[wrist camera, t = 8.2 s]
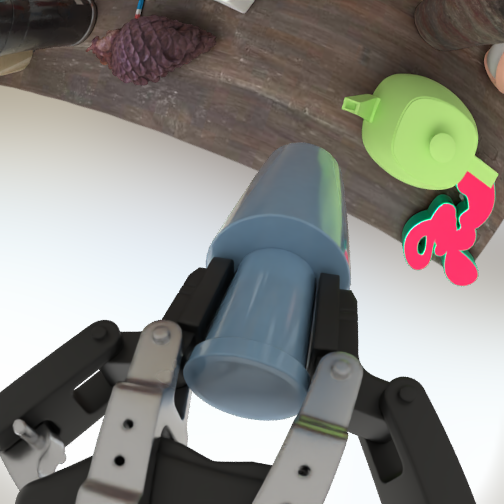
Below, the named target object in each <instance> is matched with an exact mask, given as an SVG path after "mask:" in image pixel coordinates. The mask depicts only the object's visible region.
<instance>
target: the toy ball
mask: <svg viewBox="0 0 504 504" xmlns="http://www.w3.org/2000/svg"><path fill="white" fill-rule="evenodd" d="M484 64H485V69H486V72H487V74H488V76H489V78H490V80H491V82H492V83H493V84H494V85H495V87H496V88H497V89H498V90H499V91H500V92H502V93H503V94H504V43H500V44H494V45H492V47H491V48H490V49H489V50H488V51H487V53H486V54H485V58H484Z"/></svg>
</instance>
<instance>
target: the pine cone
mask: <svg viewBox="0 0 504 504" xmlns="http://www.w3.org/2000/svg"><path fill="white" fill-rule="evenodd" d="M215 38H216V36H213V35H212V34H211V33H210V32H206V31H205V30H200V29H199V27H197V26H193V25H192V24H189V25H187V24H185V23H184V24H182V23H181V22H178V20H171V19H168V18H166V17H164V16H160V17H159V16H156V15H151V16H148V17H144V16H141V17H139V18H137V19H132V20H131V21H130V22H129V23H127V24H124V26H123V27H122V28H121V29H116V30H113V31H112V30H108V32H107V33H106V36H105V37H103V38H102V39H99V36H97V37H95V38H94V39H93V40H92V45H91V46H90V47H89V48H88V49H87V50H86V52H88V51H90V50H93V53H94V54H96V57H97V58H99V59H100V62H101V63H102V64H103V65H107V64H108V67H109V69H112V74H113V75H115V76H117V77H118V78H120V80H122V81H123V82H124V83H129V82H133V83H134V84H135V85H147V84H148V81H152V82H154V83H156V82H158V81H159V80H160V76H161V77H165V76H166V75H167V74H168V73H167V72H169V71H170V72H172V71H173V70H174V69H175V68H180V67H181V66H182V65H183V64H188V63H190V62H191V60H192V59H194V58H197V57H198V56H199V55H200V54H202V53H205V52H208V51H209V50H210V48H212V47H213V46H214V45H215V44H216V41H215Z"/></svg>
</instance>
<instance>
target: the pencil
mask: <svg viewBox="0 0 504 504" xmlns="http://www.w3.org/2000/svg"><path fill="white" fill-rule="evenodd" d="M143 2H144V0H139V3H138V7H137V11H136V15H135V18H136V19H137V18H139V17H140V14H141V10H142V6H143Z"/></svg>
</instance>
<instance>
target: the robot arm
mask: <svg viewBox="0 0 504 504" xmlns="http://www.w3.org/2000/svg"><path fill="white" fill-rule="evenodd" d="M96 16H97V10H96V6H95V3H94V2H93V1H92V0H0V56H4V55H9V54H14V53H19V52H24V51H30V50H33V53H34V51H35V50H36V49H43V48H51V47H60V46H75V45H78V44H80V43H82V42H83V41H84V40H85V39H86V38H87V37H88V36H89V34H90V33H91V31H92V29H93V27H94V25H95V21H96ZM233 275H234V261H233V260H232V259H226V258H220V257H213V258H212V260H211V262H210V263H209V265H208V267H207V269H206V268H198V269H197V270H195V271H194V272H193V273H191V274H190V275H189V276H188V278H187V279H186V281H185V283H184V286H182V288H181V289H180V291H179V293H178V294H177V295H176V297H175V299H174V300H173V302H172V304H171V305H170V307H169V308H168V310H167V312H166V313H165V315H164V317H163V318H162V320H158V321H154V322H152V323H150V324H149V325H147V326H146V327H145V328H144V329H143V331H141V332H120V331H119V328H118V326H117V325H116V324H115V323H114V322H112V321H109V320H101V321H97V322H95V323H93V324H91V325H90V326H88V327H87V328H85V329H84V330H83V331H81V332H80V333H79V334H77V335H76V336H74V337H73V338H72V339H70V340H69V341H68V342H66V343H65V344H63V345H62V346H61V347H59V348H58V349H57V350H55V351H54V352H53V353H51V354H50V355H49V356H48V357H46V358H45V359H44V360H42V361H41V362H39V363H38V364H37V365H35V366H34V367H33V368H31V369H30V370H29V371H27V372H26V373H25V374H23V375H22V376H21V377H19V378H18V379H17V380H16V381H14V382H13V383H12V384H11V385H9V386H8V387H7V388H5V389H4V390H3V391H1V392H0V456H1V458H2V460H3V462H4V464H5V466H6V468H7V470H8V472H9V474H10V475H11V477H12V479H13V481H14V482H15V484H16V486H17V487H18V489H19V491H20V492H19V493H18V495H17V498H16V502H15V504H323V503H324V501H325V498H326V496H327V494H328V491H329V489H330V486H331V483H332V481H333V479H334V475H335V473H336V471H337V468H338V465H339V463H340V460H341V457H342V454H343V451H344V449H345V446H346V442H347V439H348V433H347V431H348V432H350V433H352V434H355V435H357V436H358V437H359V440H360V443H361V446H362V449H363V451H364V454H365V457H366V460H367V463H368V465H369V468H370V471H371V474H372V477H373V480H374V483H375V485H376V489H377V491H378V494H379V497H380V500H381V503H382V504H476V502H475V500H474V497H473V495H472V492H471V489H470V487H469V485H468V482H467V479H466V477H465V475H464V472H463V470H462V467H461V465H460V463H459V461H458V458H457V456H456V454H455V452H454V449H453V447H452V445H451V443H450V441H449V438H448V436H447V434H446V432H445V430H444V428H443V426H442V424H441V422H440V420H439V417H438V415H437V413H436V411H435V409H434V407H433V405H432V403H431V402H430V400H429V398H428V396H427V394H426V392H425V390H424V388H423V387H422V385H421V384H420V383H419V382H418V381H416V380H415V379H412V378H409V377H398V378H395V379H393V380H392V381H391V382H388V381H385V380H382V379H380V378H378V377H375V376H373V375H371V374H370V373H368V372H367V371H366V370H365V369H364V368H363V366H362V365H361V363H360V361H359V357H358V322H357V321H358V314H357V300H356V298H355V296H354V295H353V293H352V291H351V290H344V289H340V276H339V275H335V274H328V273H320V277H319V282H318V288H317V293H316V299H315V308H314V316H313V324H312V332H311V340H310V347H309V354H308V361H307V368H306V370H307V372H308V373H309V376H310V379H311V384H310V387H309V389H308V392H307V394H306V396H305V399H304V401H303V403H302V406H301V408H300V410H299V413H298V415H297V417H296V418H295V420H294V422H293V424H292V426H291V428H290V430H289V432H288V435H287V437H286V439H285V441H284V443H283V445H282V447H281V449H280V451H279V453H278V455H277V457H276V459H275V461H274V463H273V465H267V464H262V463H256V462H217V461H212V460H210V459H208V458H206V457H204V456H203V455H201V454H199V453H197V452H196V451H194V450H192V449H190V448H188V447H187V440H188V436H187V419H188V413H189V406H190V400H191V394H192V390H191V389H190V388H189V387H188V385H187V384H186V382H185V379H184V376H183V368H184V365H185V363H186V361H187V359H188V357H189V355H190V353H191V351H192V349H193V348H194V347H195V346H196V345H198V344H199V343H201V342H203V341H204V339H205V337H206V335H207V332H208V330H209V328H210V326H211V324H212V321H213V319H214V317H215V315H216V313H217V310H218V308H219V306H220V304H221V302H222V299H223V297H224V295H225V293H226V291H227V288H228V286H229V284H230V282H231V280H232V278H233ZM98 369H99V370H100V371H99V372H97V373H96V374H95V375H94V376H92V377H91V378H90V379H89V380H87V381H86V382H85V383H84V384H82V385H81V386H80V387H78V388H77V389H75V388H76V387H77V386H78V385H79V384H81V383H82V382H83V381H84V380H86V379H87V378H88V377H89V376H91V375H92V374H93V373H94V372H96V371H97V370H98ZM74 389H75V390H74ZM104 415H105V416H104ZM102 416H104V419H103V422H102V426H101V429H100V432H99V436H98V439H97V443H96V447H95V451H94V454H93V456H91V457H89V458H87V459H85V460H82V461H80V462H78V463H76V464H73V465H71V466H69V467H67V468H64V469H62V470H59V471H57V472H55V469H56V467H57V465H58V464H62V463H64V462H65V461H66V455H65V447H66V446H67V445H68V444H70V443H71V442H72V441H73V440H74V439H76V438H77V437H78V436H79V435H81V434H82V433H83V432H84V431H85V430H87V429H88V428H89V427H90V426H91V425H93V424H94V423H95V422H96V421H98V420H99V419H100V418H101V417H102Z"/></svg>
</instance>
